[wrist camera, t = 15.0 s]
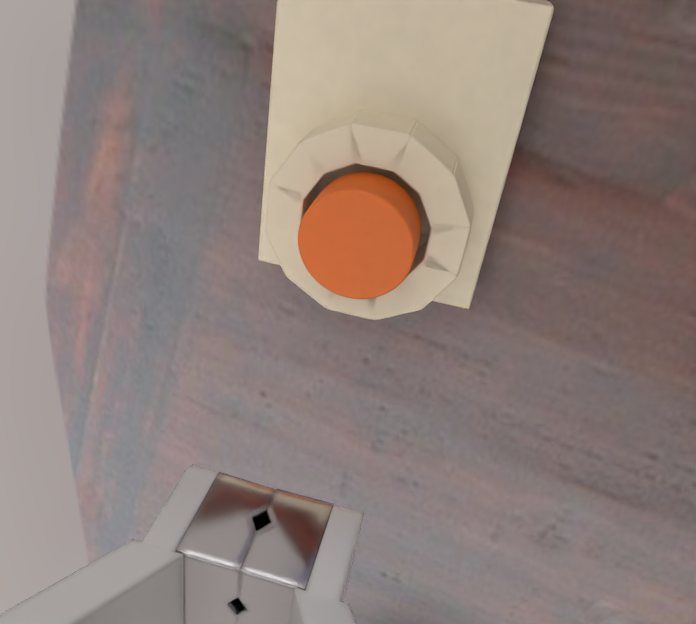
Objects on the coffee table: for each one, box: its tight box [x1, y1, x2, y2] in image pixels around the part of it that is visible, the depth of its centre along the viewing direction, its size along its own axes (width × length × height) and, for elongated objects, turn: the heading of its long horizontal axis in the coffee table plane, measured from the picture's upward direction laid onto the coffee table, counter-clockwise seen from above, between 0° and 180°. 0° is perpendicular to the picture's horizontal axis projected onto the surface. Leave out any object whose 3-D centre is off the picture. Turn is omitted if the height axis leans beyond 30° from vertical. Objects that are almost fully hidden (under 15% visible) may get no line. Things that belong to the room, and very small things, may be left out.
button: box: [298, 172, 421, 299], centre depth 20 cm, size 4×4×2 cm
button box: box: [258, 0, 554, 320], centre depth 21 cm, size 10×8×4 cm
